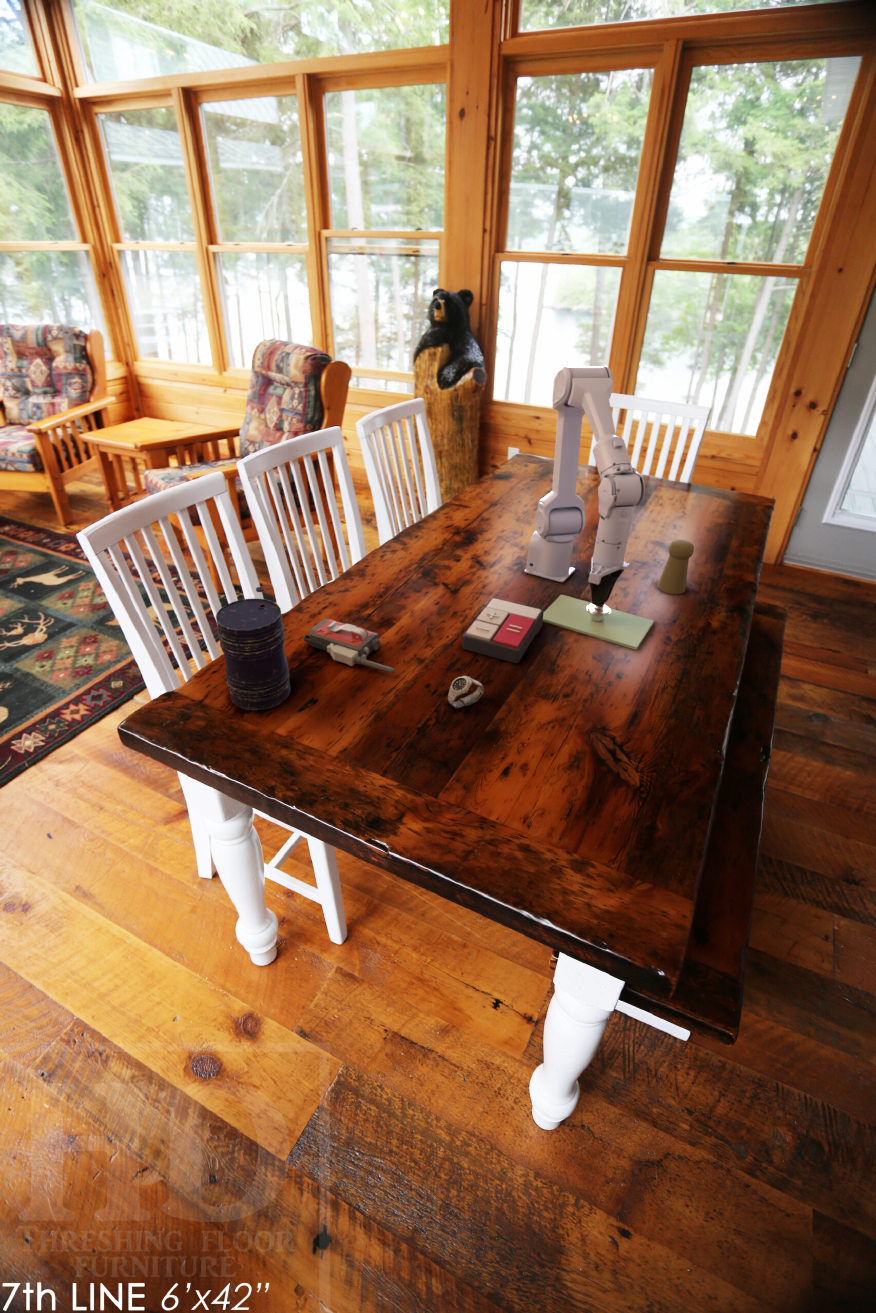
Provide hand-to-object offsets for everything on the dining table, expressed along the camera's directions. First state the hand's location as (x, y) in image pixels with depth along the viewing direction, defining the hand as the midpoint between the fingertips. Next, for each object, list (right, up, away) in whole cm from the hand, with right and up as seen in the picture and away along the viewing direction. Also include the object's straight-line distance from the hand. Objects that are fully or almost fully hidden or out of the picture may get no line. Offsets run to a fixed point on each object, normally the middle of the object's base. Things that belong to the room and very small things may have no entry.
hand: (599, 602), depth 127 cm
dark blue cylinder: (-61, -17, -20) cm, 67 cm away
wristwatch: (-27, -18, -21) cm, 39 cm away
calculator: (-19, -7, -4) cm, 21 cm away
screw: (0, -3, +2) cm, 4 cm away
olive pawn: (+20, +5, +16) cm, 26 cm away
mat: (0, -4, +2) cm, 4 cm away
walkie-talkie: (-47, -10, -10) cm, 49 cm away
